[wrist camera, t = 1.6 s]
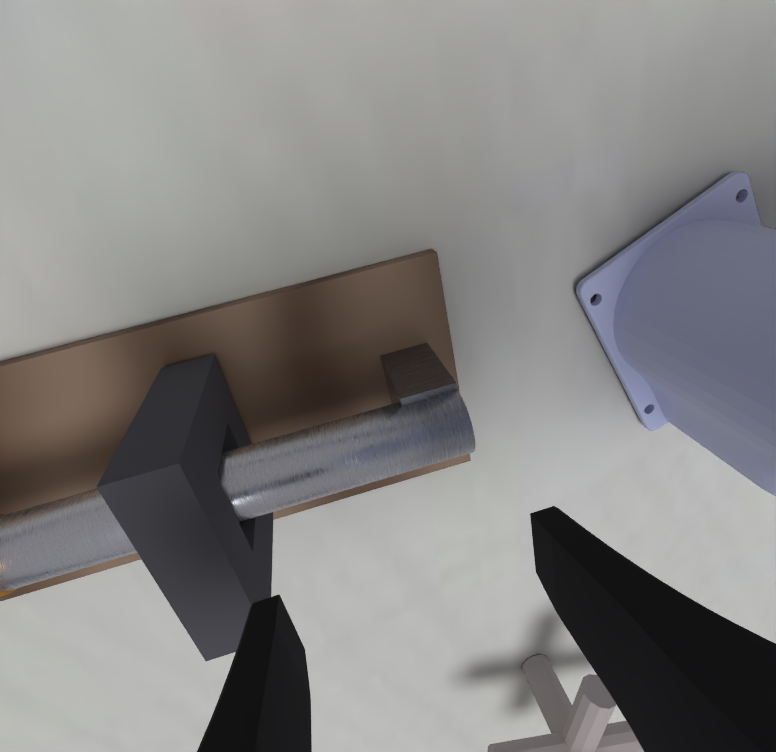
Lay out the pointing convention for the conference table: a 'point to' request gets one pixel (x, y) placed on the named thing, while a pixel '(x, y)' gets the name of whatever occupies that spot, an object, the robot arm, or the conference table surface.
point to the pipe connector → (571, 716)
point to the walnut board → (241, 371)
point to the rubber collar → (191, 504)
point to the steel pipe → (265, 471)
